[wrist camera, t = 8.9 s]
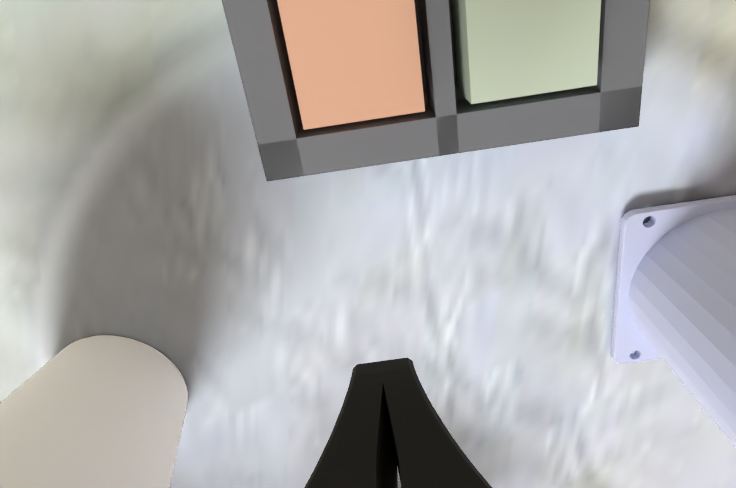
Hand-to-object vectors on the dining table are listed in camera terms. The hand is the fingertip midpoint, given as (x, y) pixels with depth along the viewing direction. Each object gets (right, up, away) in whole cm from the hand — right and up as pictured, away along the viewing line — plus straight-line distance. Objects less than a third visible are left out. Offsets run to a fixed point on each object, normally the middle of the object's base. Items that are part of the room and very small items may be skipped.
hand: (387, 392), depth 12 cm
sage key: (+4, +11, +5) cm, 13 cm away
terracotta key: (-1, +10, +6) cm, 12 cm away
